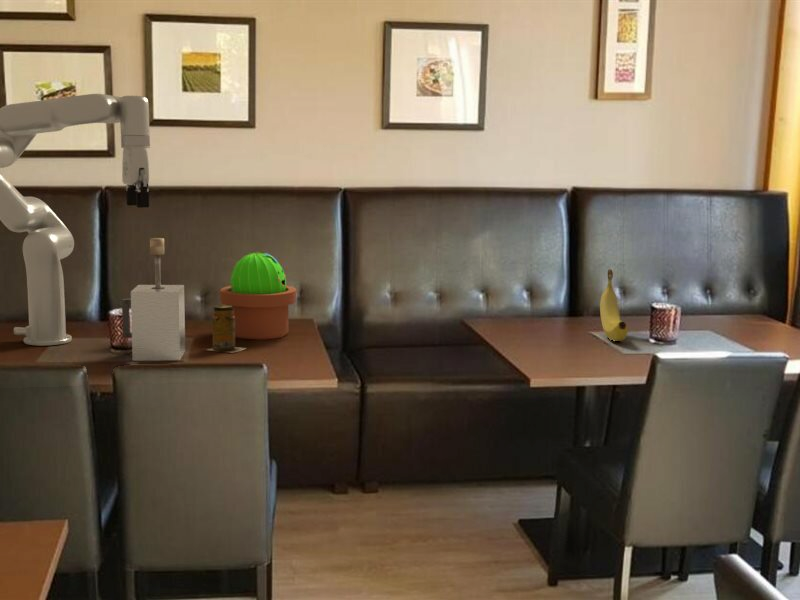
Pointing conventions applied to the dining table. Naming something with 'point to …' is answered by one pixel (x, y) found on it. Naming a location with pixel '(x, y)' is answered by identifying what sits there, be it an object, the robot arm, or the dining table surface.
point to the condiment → (224, 330)
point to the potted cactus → (259, 297)
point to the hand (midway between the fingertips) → (137, 206)
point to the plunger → (157, 258)
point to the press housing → (155, 322)
